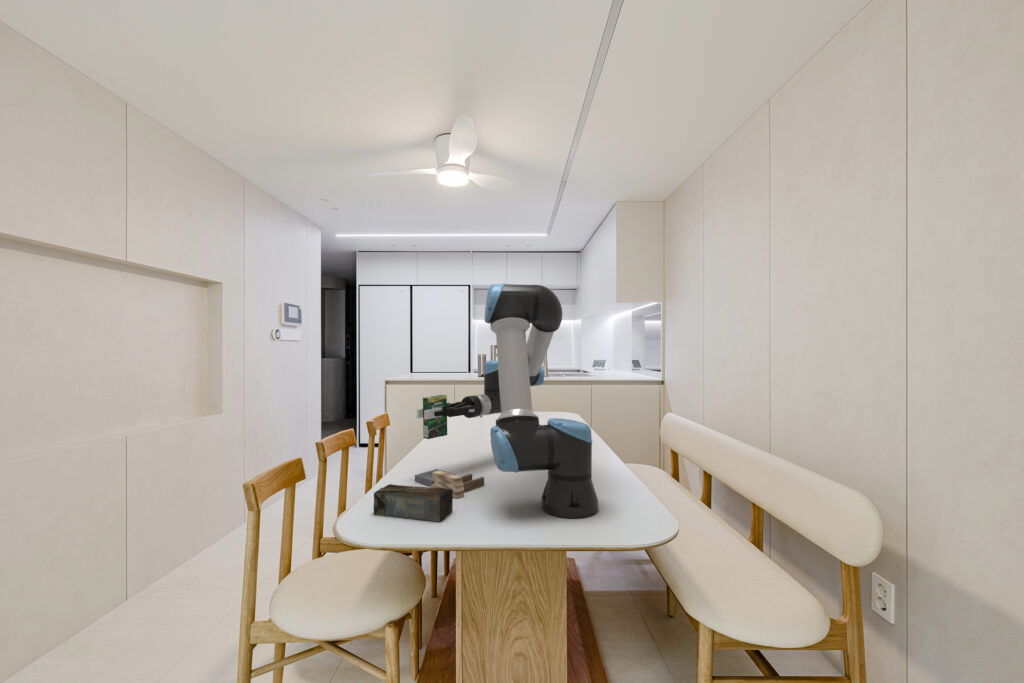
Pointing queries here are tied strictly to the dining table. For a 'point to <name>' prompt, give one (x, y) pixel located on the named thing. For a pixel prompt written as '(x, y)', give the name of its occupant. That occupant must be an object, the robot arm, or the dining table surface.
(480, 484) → the walnut rack
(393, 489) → the beverage carton
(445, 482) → the offcut stack
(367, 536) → the dining table surface
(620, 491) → the dining table surface
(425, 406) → the coffee box
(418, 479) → the stand pad
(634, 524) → the dining table surface
